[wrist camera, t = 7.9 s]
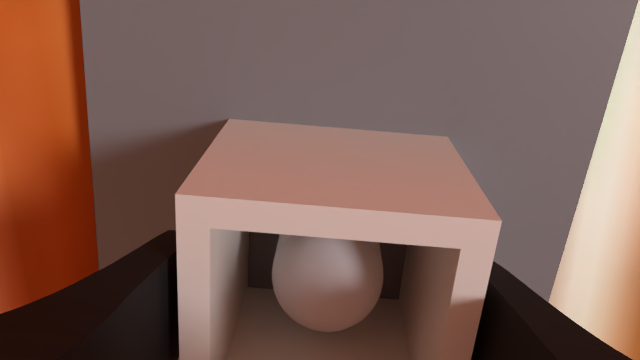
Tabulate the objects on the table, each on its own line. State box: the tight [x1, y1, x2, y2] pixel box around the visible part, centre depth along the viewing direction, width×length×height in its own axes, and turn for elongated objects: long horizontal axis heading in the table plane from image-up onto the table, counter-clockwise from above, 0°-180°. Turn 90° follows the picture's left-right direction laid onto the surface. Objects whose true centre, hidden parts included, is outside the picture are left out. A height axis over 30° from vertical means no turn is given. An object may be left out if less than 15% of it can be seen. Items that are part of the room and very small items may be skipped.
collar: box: [175, 119, 502, 360], centre depth 12 cm, size 6×6×5 cm
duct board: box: [79, 0, 638, 360], centre depth 13 cm, size 13×18×4 cm
